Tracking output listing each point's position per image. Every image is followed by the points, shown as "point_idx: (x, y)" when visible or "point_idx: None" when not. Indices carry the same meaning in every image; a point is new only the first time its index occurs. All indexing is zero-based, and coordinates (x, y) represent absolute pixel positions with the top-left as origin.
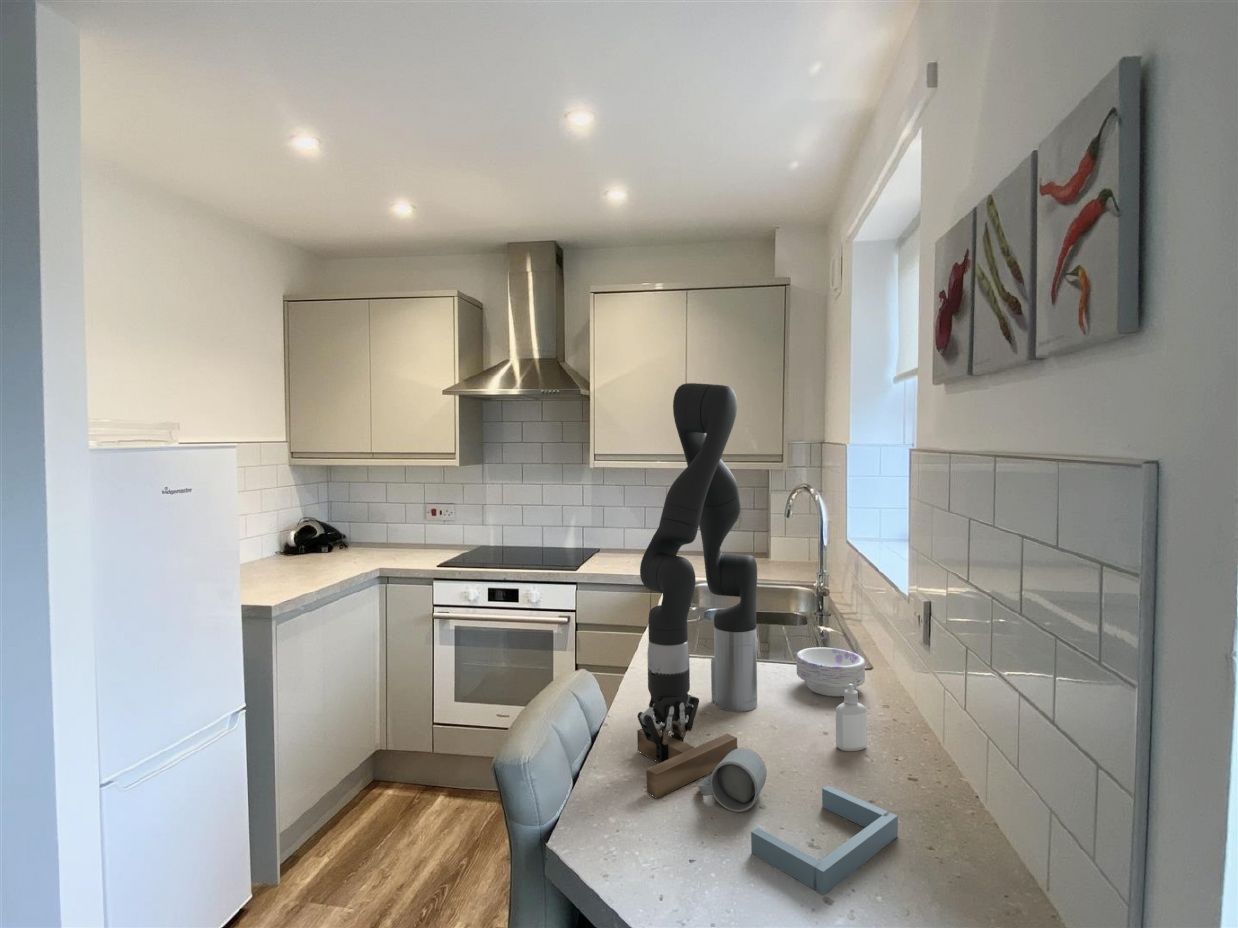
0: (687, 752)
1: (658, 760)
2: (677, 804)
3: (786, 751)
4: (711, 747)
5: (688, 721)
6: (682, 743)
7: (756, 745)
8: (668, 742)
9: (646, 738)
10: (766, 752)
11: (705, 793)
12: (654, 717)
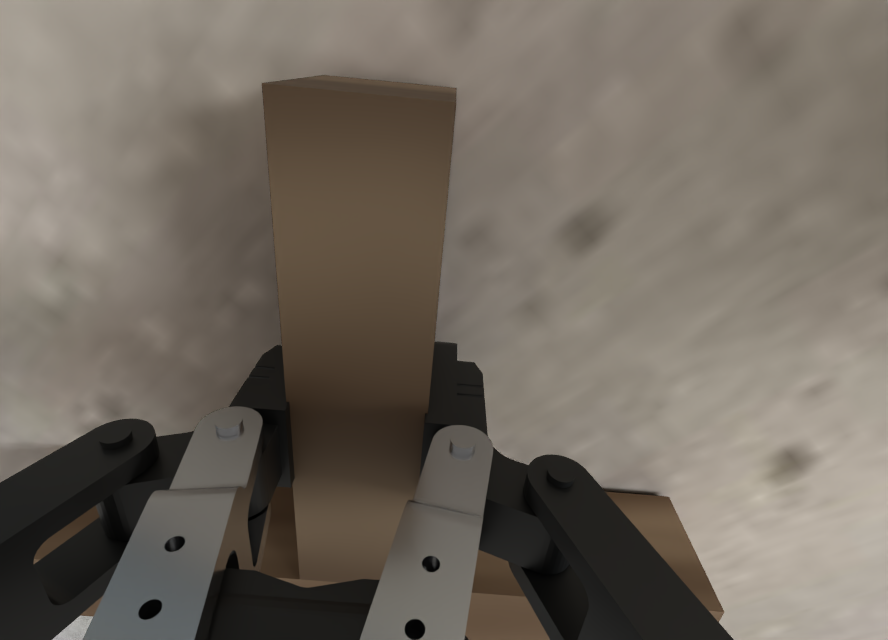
0: None
1: None
2: None
3: (850, 619)
4: (484, 634)
5: (537, 609)
6: (395, 520)
7: (859, 526)
8: (329, 454)
9: (91, 434)
10: (799, 579)
11: None
12: (117, 583)
